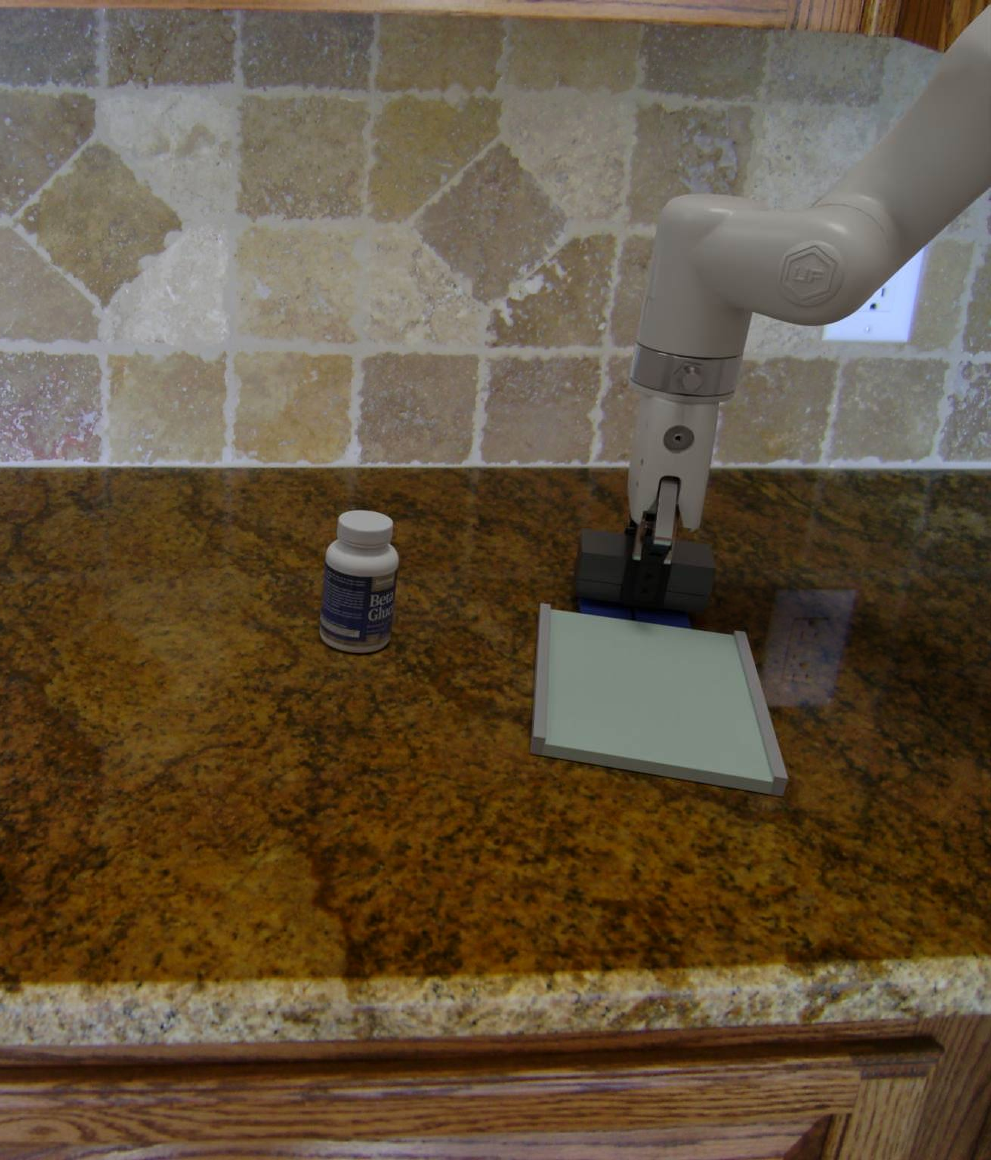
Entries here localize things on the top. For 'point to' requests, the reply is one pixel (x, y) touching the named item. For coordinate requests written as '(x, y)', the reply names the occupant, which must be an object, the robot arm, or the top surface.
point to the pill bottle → (359, 583)
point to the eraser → (606, 567)
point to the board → (653, 701)
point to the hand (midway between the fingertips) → (638, 587)
